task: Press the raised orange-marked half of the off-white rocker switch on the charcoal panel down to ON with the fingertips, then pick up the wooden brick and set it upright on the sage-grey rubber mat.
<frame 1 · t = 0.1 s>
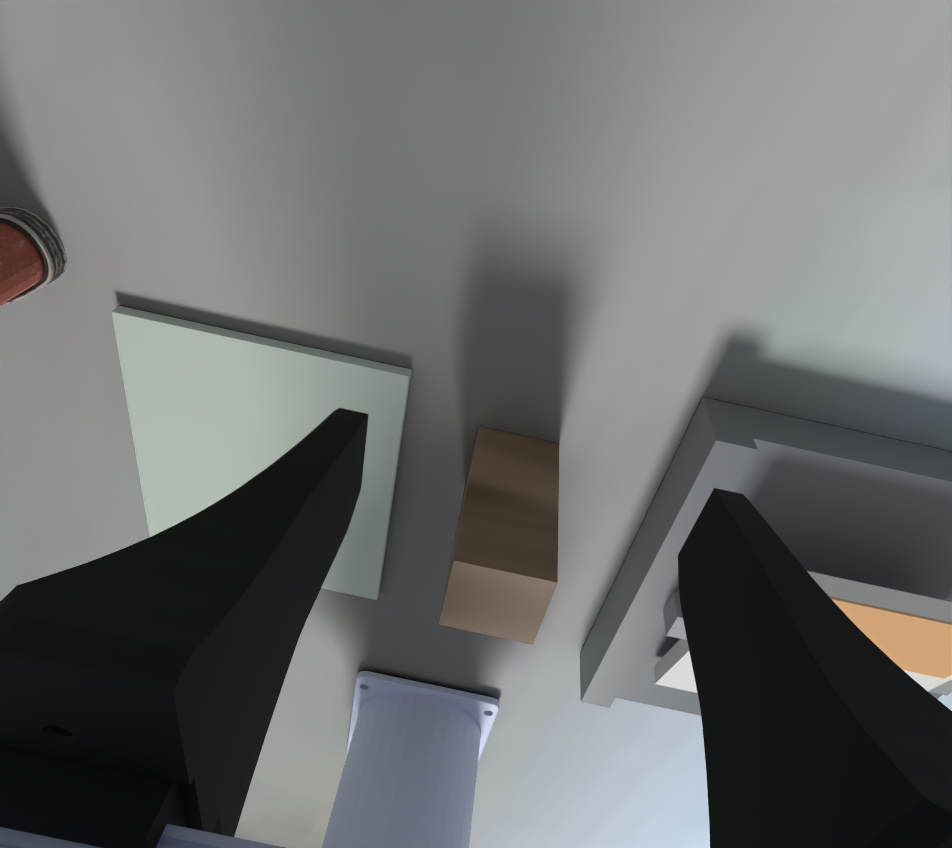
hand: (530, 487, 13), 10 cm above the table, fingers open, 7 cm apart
switch panel: (787, 580, 28), on the table
mat: (267, 469, 28), on the table
wooden brick: (510, 465, 26), on the table
rocker switch: (814, 655, 25), point 4 cm above the table, hinge at -12.0°
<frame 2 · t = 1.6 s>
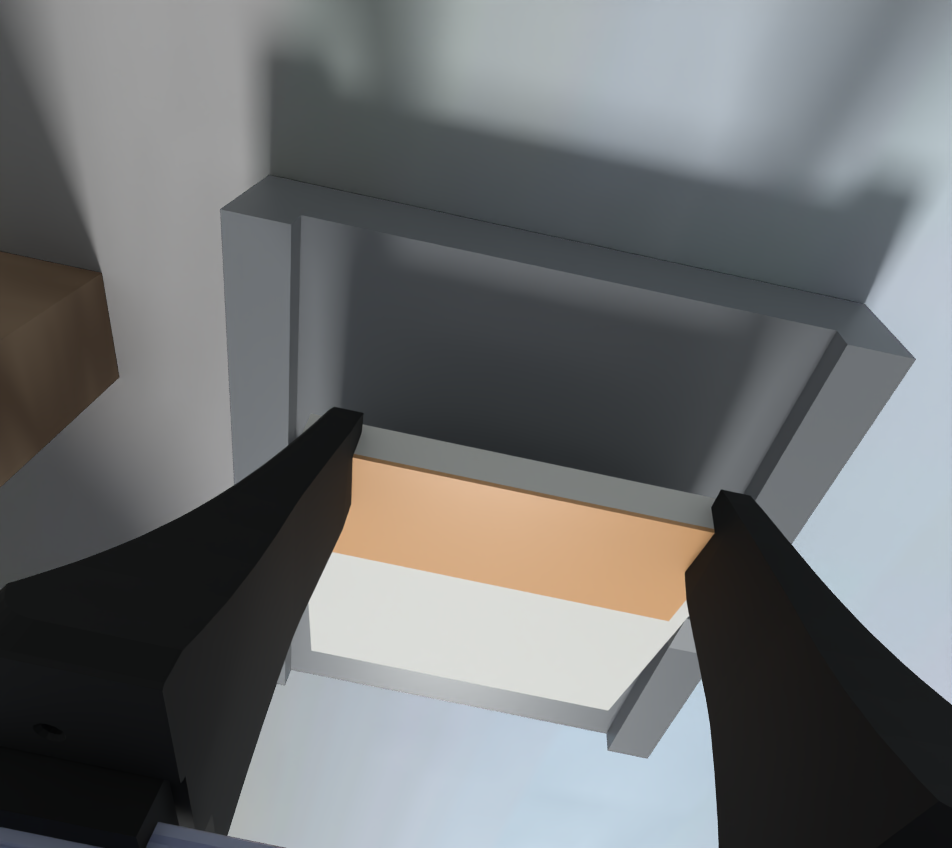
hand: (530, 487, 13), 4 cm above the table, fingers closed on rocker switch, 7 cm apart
switch panel: (499, 495, 19), on the table
wooden brick: (52, 315, 17), on the table
rocker switch: (488, 593, 16), point 4 cm above the table, hinge at -10.6°, touching gripper
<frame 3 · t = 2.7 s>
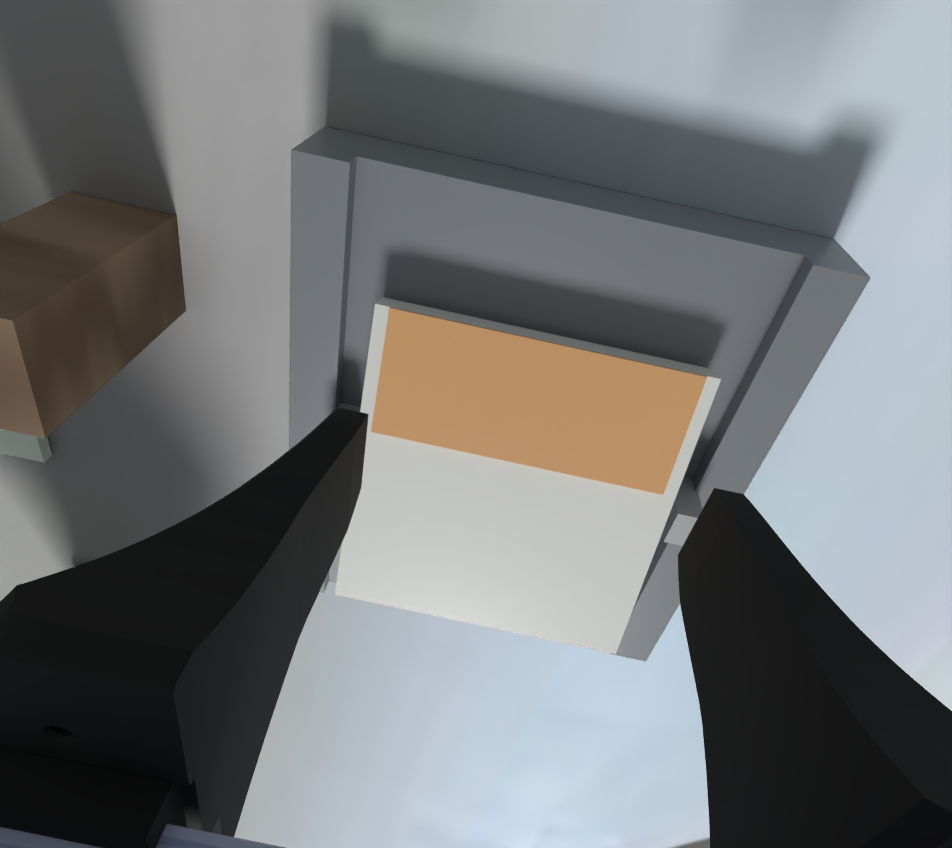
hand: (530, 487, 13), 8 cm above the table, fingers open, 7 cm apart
switch panel: (516, 418, 22), on the table
wooden brick: (130, 254, 20), on the table
rocker switch: (508, 491, 19), point 4 cm above the table, hinge at 12.2°
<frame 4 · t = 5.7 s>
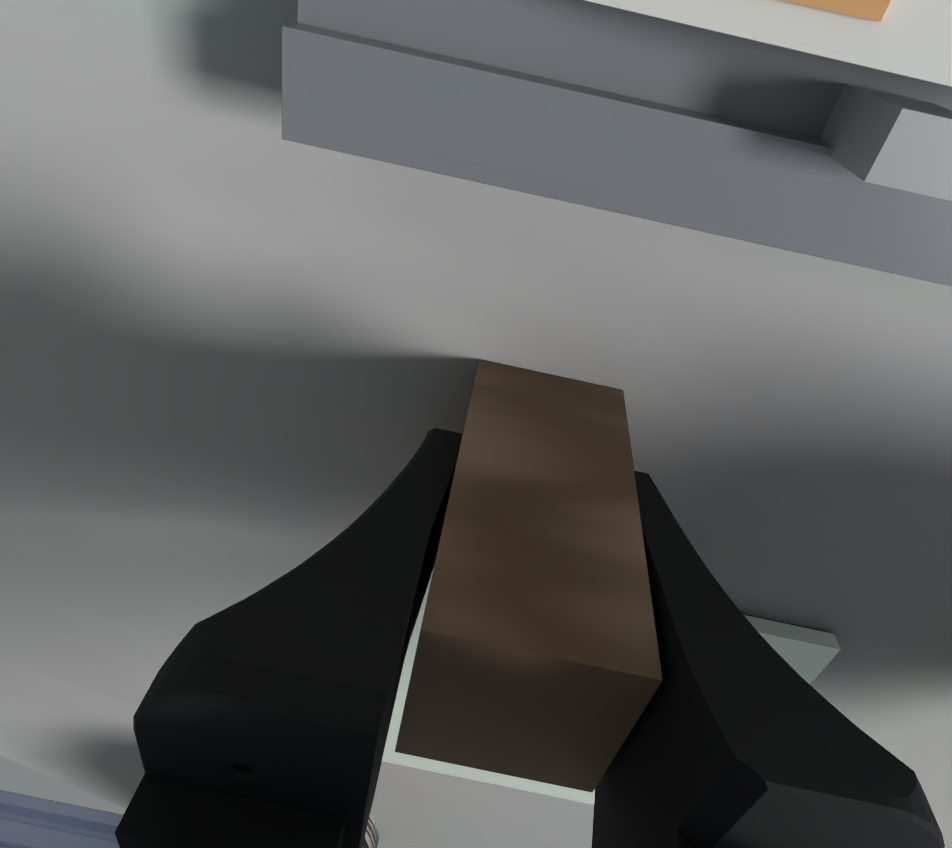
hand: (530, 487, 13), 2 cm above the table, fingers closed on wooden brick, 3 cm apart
lighter: (327, 796, 27), on the table
mat: (553, 694, 21), on the table
wooden brick: (534, 432, 15), on the table, touching gripper
when the fingers open (3 cm above the table, at t = 9.7 s): wooden brick stays where it is, resting on mat.
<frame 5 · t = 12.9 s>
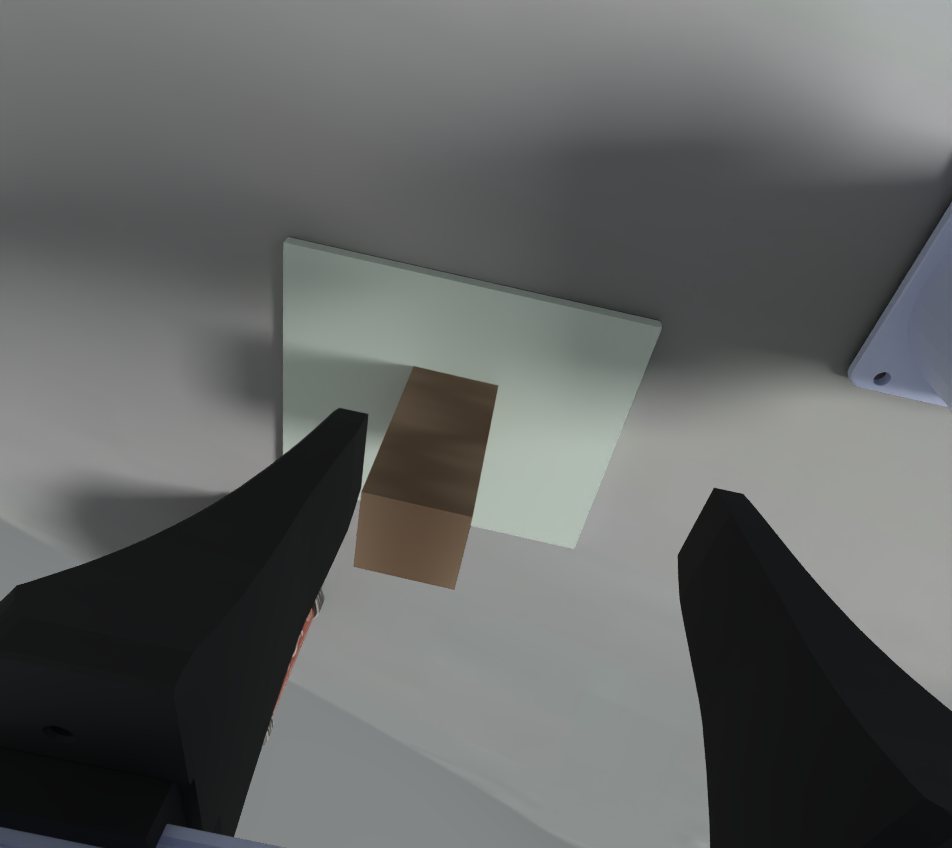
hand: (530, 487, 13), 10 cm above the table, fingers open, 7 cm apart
lighter: (278, 552, 32), on the table
mat: (449, 408, 25), on the table
wooden brick: (449, 410, 25), resting on mat
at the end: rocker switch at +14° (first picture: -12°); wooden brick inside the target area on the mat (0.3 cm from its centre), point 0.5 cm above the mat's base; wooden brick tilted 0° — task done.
